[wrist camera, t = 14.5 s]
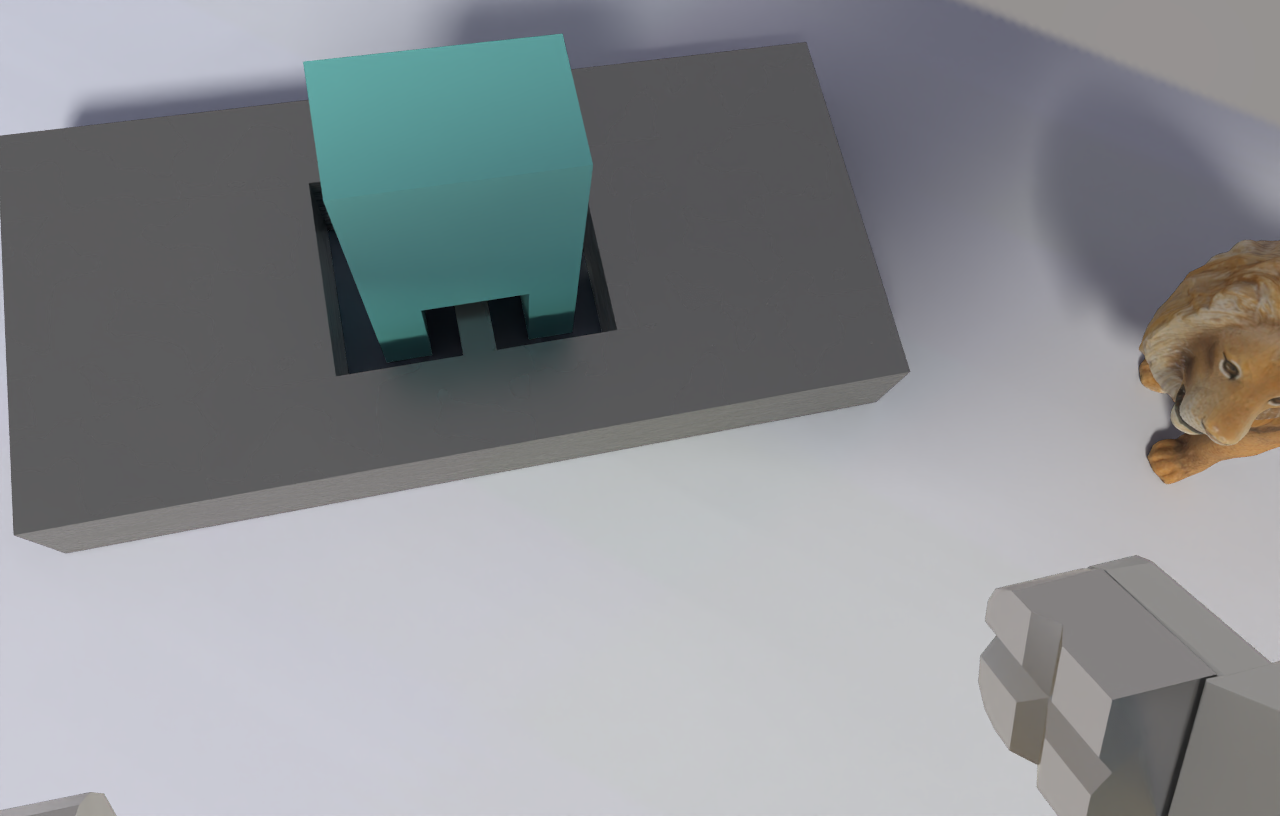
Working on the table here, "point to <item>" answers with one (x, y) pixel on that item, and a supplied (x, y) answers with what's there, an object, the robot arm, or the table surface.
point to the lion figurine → (1218, 361)
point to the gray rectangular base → (483, 377)
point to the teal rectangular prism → (454, 181)
